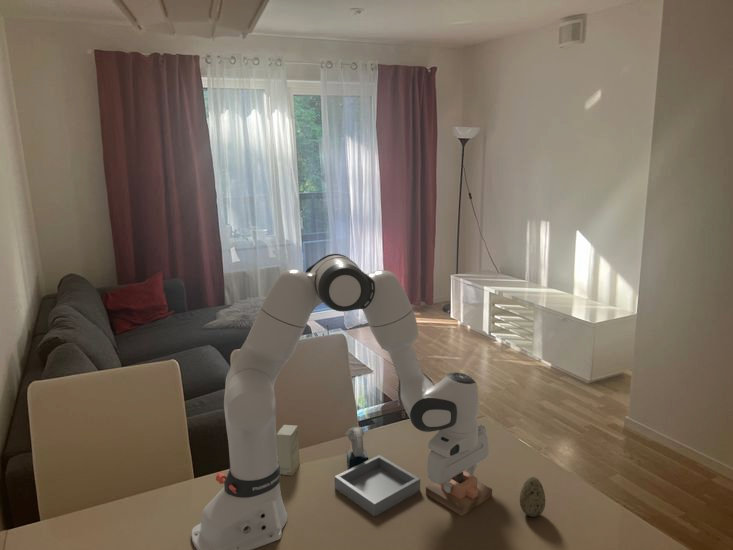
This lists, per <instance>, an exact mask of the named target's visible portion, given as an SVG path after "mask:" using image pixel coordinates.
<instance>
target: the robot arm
mask: <svg viewBox="0 0 733 550" xmlns="http://www.w3.org/2000/svg"><path fill="white" fill-rule="evenodd" d="M321 304H324V305H325V306H326V307H328V308H329V309H331V310H334V311H336V312H343V313H344V312H350V311H356V310H362V311H363V314H364V316H365V319H366V321H367V323H368V324H367V325H368V326H369V329H370V331H371V333H372V335H373V337H374V338H375V340H376V342H377V343H378V345H379V346H380V348H381V349H382V350H384V351H386V352H387V353H388V354H389V356H390V358H391V359H390V360H391V361H392V364H393V366H394V369H395V372H396V375H397V379H398V390H397V395H398V399H399V402H400V403H401V405H402V406H403V408H404V410H405V412H406V413H407V416H408V419H409V420H410V422H411V424H412V425H413V427H414V428H416V429H417V430H418V431H420V432H424V433H431V432H436V431H437V433H436V434H435V435H434V436H433V437H432V438H431V439H430V440H429V441H428V443H427V448H428V449H429V450H430V451H429V454H428V457H427V478H428V479H429V480H430V481H431V482H432V483H436V484H438V485H441V484H444V490H445V491H446V492H447V493H450V492H452V491H453V485H452V484H450V481H451V478H453V477H455V476H456V475H458V474H460V473H461V472H463V471H465V472H467V473H469V474H470V475H472V476H474V473H475V471H476V468H477V467H478V464H479V463H481V462H482V461H483V460H486V459H487V458H488V456H489V453H490V451H489V439H488V436H487V435H488V434H487V427H485V426H484V425H483V424H479V423H478V419H477V418H478V414H479V403H480V402H479V401H480V400H479V389H478V384H477V382H476V381H475V379H473V378H472V377H471V376H470V375H467V374H465V373H461V372H454V371H453V372H449V373H447V374H446V375H445V377H444V378H442V379H441V380H440V381H438V382H437V383H435V384H434V382H433V380H432V379H431V378H430V376H428V375H427V374H426V373H424V372H423V370H422V368H421V365H420V363H419V360H418V357H417V355H416V352H415V349H414V343H415V342H416V340H417V338H418V337H419V329H418V323H417V317H416V315H415V312H414V309H413V307H412V304H411V302H410V299H409V297H408V295H407V292H406V291H405V289H404V287H403V285H402V283H401V282H400V280H399V278H398V277H397V275H396V274H395V273H393V272H392V271H389V270H384V269H383V270H382V269H381V270H375V271H373V272H370V273H366V272H364V271H363V270H362V269H360V267H359V266H358V264H356V263H355V262H354V261H353V260H352V259H351V258H349V257H348V256H346V255H344V254H340V253H330V254H327V255H325V256H323V257H321V258H320V259H319V260H318V261H316V262H315V263H314V264H312V265H311V266H309V267H308V268H307V269H306V270H305V271H303V270H301V269H293V268H291V269H287V270H284V271H282V272H281V273H279V275H278V276H277V278H276V279H275V281H274V282H273V283H272V286H271V287H270V289H269V290H268V291H267V294H266V296H265V297H264V299H263V302H262V303H261V306H260V308H259V311H258V312H257V315H256V317H255V319H254V322H253V324H252V326H251V328H250V330H249V333H248V335H247V337H246V339H245V340H244V342H243V344H242V346H241V348H240V349H239V351H238V353H237V354H236V357H235V358H234V360H233V362H232V364H231V366H230V368H229V370H228V371H227V374H226V378H225V386H224V387H225V388H224V398H223V399H224V400H223V408H224V409H223V411H224V417H225V418H224V419H225V427H226V434H227V440H228V441H227V442H228V453H229V454H228V455H229V470H228V473H227V476H226V475H225V474H224V473H223V472H218V473H216V475H215V480H216V481H217V482H218V483H219V485H222V484H223V485H224V486H223V487H222V488H221V489H220V490H219V492H218V493H217V494H216V495H215V496H214V497H213V498H212V499H211V500H210V501H209V503H208V504H206V505H205V507H204V508H203V510H202V513H201V517H200V523H198V524H197V525H195V526H194V527H192V529H191V541H192V544H193V546H194V548H195V549H196V550H255V549H257V548H260V547H263V546H265V545H269V544H271V543H274V542H275V541H278V540H280V539H281V538H282V535H283V534H282V533H283V529H284V526H285V525H286V524H287V521H288V518H289V516H288V512H287V509H286V507H285V504H284V502H283V497H282V492H281V486H280V485H281V484H280V483H281V479H282V478H281V474H280V465H279V462H278V452H277V436H276V434H277V418H276V417H277V413H276V410H277V409H276V396H275V390H274V389H275V384H276V382H277V381H276V380H277V378H278V376H279V374H280V373H281V372H282V370H283V368H284V367H285V365H286V364H287V362H288V361H289V360H290V359H291V358H292V356H293V355H294V353H295V350H296V348H297V346H298V345H299V344H298V343H299V342H300V340H301V337H302V336H303V333H304V330H305V328H306V327H307V325H308V321H309V320H310V316H311V315H312V313H313V312H314V310H315V309H316V308H317V307H318V306H320V305H321Z"/></svg>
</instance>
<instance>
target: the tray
mask: <svg viewBox="0 0 733 550" xmlns="http://www.w3.org/2000/svg"><path fill="white" fill-rule="evenodd" d="M334 489H335V490H337V491H338V492H339V491H340V492H339V493H341V494H342V495H344V497H346V496H347V499H349V500H350V499H351V501H352V502H353V503H355V504H356V505H357V504H358V506H359V507H360V508H362V509H363V510H364V511H366V512H368V513H369V514H370V515H372V516H373V518H374V517H375V516H376V517H377V516H379V515H381V514H383V513H385V512H386V511H388V510H390V509H391V508H393V507H395V506H396V505H398V504H400V503H401V502H403V501H406V500H407V499H409V498H410V497H413V495H415V494H417V493H419V492H420V491H421V478H420V477H418V476H416V475H415V474H413V473H411V472H409V471H408V470H406V469H404V468H403V467H401V466H399V465H397V464H396V463H394V462H392V461H391V460H389V459H387V458H386V457H384V456H382V455H381V454H378V455H376V456H374V457H371V458H369V459H368V460H367V461H365V462H363V463H361V464H359V465H357V466H355V467H353V468H351V469H349V468H348V469H347V470H345V471H343V472H341V473H338V474H337V475H335V476H334ZM376 517H375V518H376Z"/></svg>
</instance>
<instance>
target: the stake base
mask: <svg viewBox="0 0 733 550" xmlns="http://www.w3.org/2000/svg"><path fill="white" fill-rule="evenodd" d="M455 481H456V482H458V483H460V484H461V483H462V482H463V472H461V473H460V474H458V475H456V476H455ZM476 490H478V496H477V497H475V498H474V499H472V498H470V497H468V496H465V497H463V498H462V499H459V498H458V497H456V496H454V495H452V494H451V493H447V492H446V491H445V490H444V489H442V488H441V485H438V484H436V483H434V482H432V483H430V484H429V485H427V486H426V487H425V495H427V496H428V497H429V498H432V499H433V500H435V501H436V502H438V503H439V504H441V505H442V506H444V507H446V508H448V509H450V511H453V512H454V513H456V514H458V515H459V516H461V517H462V516H464V515H466V514H468V513H469V512H471V511H472V510H474V509H475V508H476V507H478V506H479V505H481V504H482V503H484V502H485V501H487V500H488V499H490V498H491V497H493V488H492V487H489V486H487V485H485V484H484V483H481V482H479V480H477V489H476Z"/></svg>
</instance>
